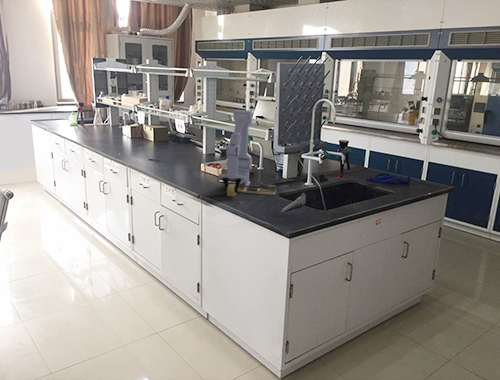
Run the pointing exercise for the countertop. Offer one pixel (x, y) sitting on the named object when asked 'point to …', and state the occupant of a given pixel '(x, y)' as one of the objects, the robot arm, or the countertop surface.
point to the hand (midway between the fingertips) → (231, 191)
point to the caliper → (295, 202)
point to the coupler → (231, 190)
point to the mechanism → (256, 188)
